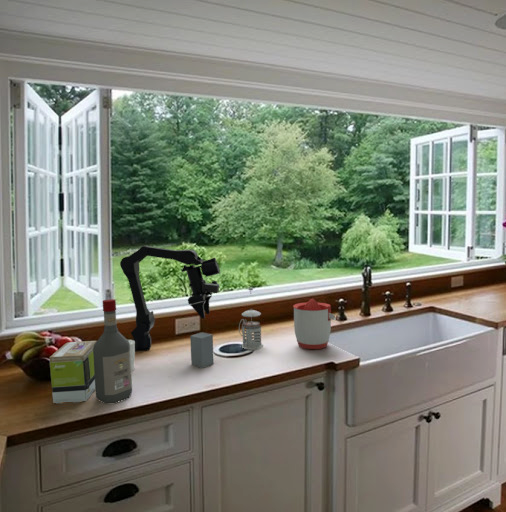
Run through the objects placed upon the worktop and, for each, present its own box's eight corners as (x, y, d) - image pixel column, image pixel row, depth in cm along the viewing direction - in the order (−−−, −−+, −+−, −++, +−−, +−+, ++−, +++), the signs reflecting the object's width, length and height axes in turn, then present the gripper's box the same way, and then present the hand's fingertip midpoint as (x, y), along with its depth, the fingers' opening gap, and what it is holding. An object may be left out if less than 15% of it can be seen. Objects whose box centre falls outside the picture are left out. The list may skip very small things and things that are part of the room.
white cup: (140, 367, 153) (139, 340, 153) (127, 374, 146) (125, 346, 145) (122, 365, 156) (121, 338, 155) (108, 372, 149) (107, 345, 148)
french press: (268, 345, 176) (267, 286, 174) (249, 352, 167) (248, 290, 165) (251, 341, 183) (250, 284, 180) (232, 347, 174) (230, 288, 172)
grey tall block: (191, 364, 154) (190, 335, 153) (202, 360, 159) (201, 332, 158) (202, 368, 151) (201, 338, 150) (213, 363, 155) (212, 334, 154)
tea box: (69, 384, 138) (66, 341, 137) (100, 383, 139) (98, 339, 138) (51, 404, 123) (48, 355, 122) (86, 402, 124) (83, 354, 123)
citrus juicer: (333, 353, 163) (332, 303, 162) (290, 350, 169) (289, 301, 167) (338, 342, 178) (337, 295, 176) (298, 339, 184) (297, 294, 182)
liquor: (135, 395, 128) (131, 299, 125) (109, 406, 121) (103, 304, 118) (119, 388, 134) (114, 296, 131) (92, 398, 127) (86, 301, 124)
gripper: (210, 277, 161) (220, 316, 162) (218, 272, 180) (228, 307, 180) (183, 284, 162) (193, 322, 163) (194, 278, 181) (203, 313, 182)
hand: (205, 316), depth 172 cm, fingers open, 9 cm apart
